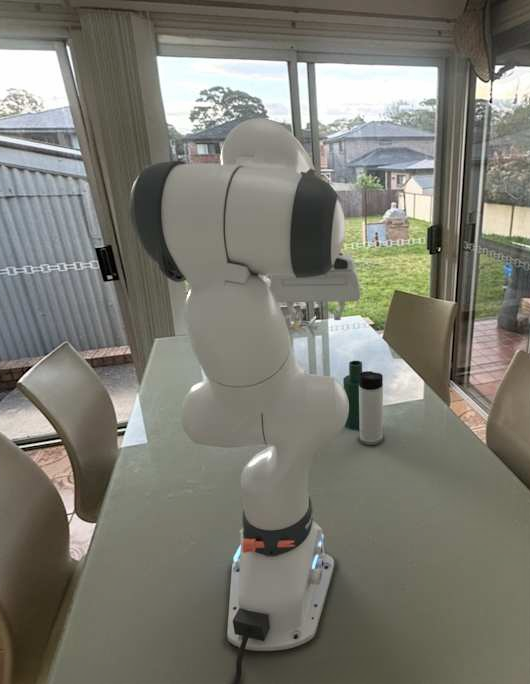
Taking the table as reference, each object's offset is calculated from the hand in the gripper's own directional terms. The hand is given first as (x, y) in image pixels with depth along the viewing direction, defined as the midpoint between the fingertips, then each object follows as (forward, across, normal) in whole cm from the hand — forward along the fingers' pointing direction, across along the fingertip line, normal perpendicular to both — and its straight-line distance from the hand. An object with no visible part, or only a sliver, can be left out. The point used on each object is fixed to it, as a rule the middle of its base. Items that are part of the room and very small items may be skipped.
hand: (317, 319), depth 101 cm
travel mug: (+37, +12, +6) cm, 39 cm away
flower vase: (+36, -14, +43) cm, 58 cm away
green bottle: (+37, +9, +15) cm, 41 cm away
